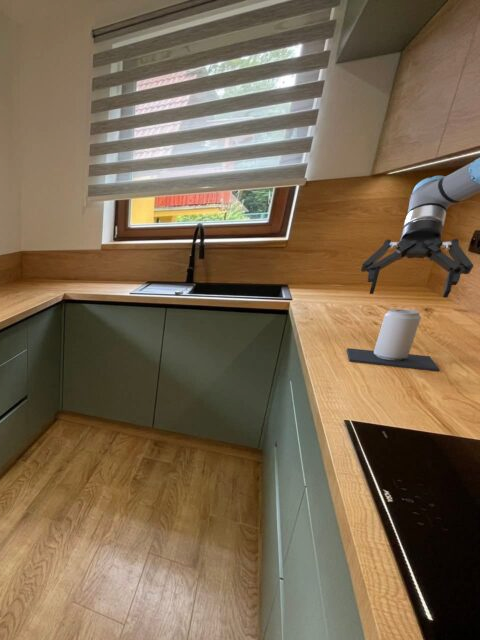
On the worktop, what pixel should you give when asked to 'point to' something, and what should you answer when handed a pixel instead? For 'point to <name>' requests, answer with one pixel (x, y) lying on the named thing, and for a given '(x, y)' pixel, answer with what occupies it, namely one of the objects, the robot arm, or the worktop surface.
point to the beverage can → (397, 334)
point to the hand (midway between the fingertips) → (407, 292)
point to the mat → (408, 362)
